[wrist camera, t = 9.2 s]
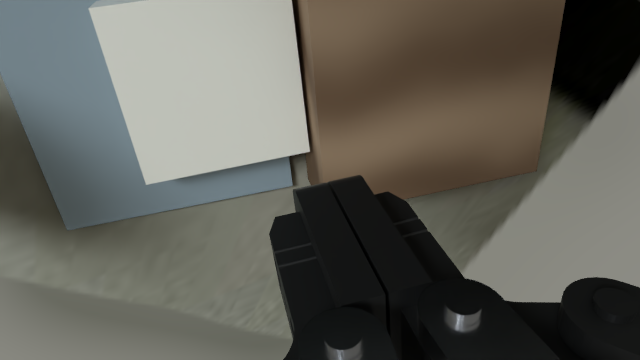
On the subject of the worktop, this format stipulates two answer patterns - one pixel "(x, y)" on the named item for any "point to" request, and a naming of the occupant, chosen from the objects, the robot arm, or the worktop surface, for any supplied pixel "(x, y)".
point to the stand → (425, 89)
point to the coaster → (204, 82)
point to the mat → (95, 122)
